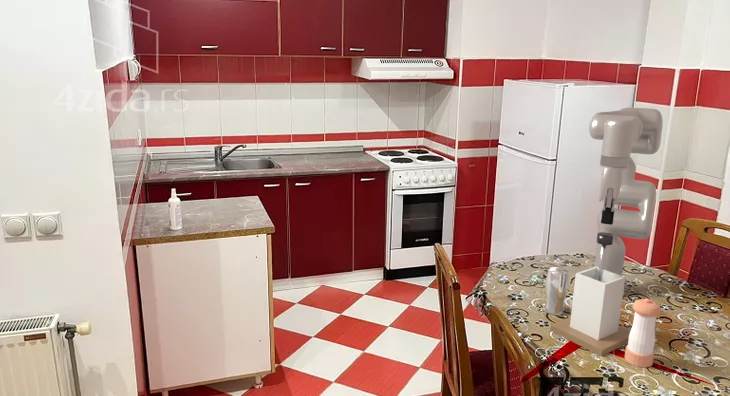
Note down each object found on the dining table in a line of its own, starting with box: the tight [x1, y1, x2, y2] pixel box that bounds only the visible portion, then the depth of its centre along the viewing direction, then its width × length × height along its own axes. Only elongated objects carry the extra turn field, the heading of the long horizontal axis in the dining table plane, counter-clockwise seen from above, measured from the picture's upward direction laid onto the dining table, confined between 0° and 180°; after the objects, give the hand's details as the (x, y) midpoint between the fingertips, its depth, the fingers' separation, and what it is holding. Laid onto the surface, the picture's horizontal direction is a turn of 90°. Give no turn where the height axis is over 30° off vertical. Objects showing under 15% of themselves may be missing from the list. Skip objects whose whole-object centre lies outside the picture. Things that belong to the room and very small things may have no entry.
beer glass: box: [544, 266, 570, 316], centre depth 186 cm, size 7×7×15 cm
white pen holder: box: [549, 266, 631, 357], centre depth 170 cm, size 18×18×20 cm
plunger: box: [596, 232, 614, 282], centre depth 167 cm, size 8×8×20 cm
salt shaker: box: [624, 298, 662, 368], centre depth 156 cm, size 7×7×19 cm
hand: (606, 223), depth 163 cm, fingers closed
